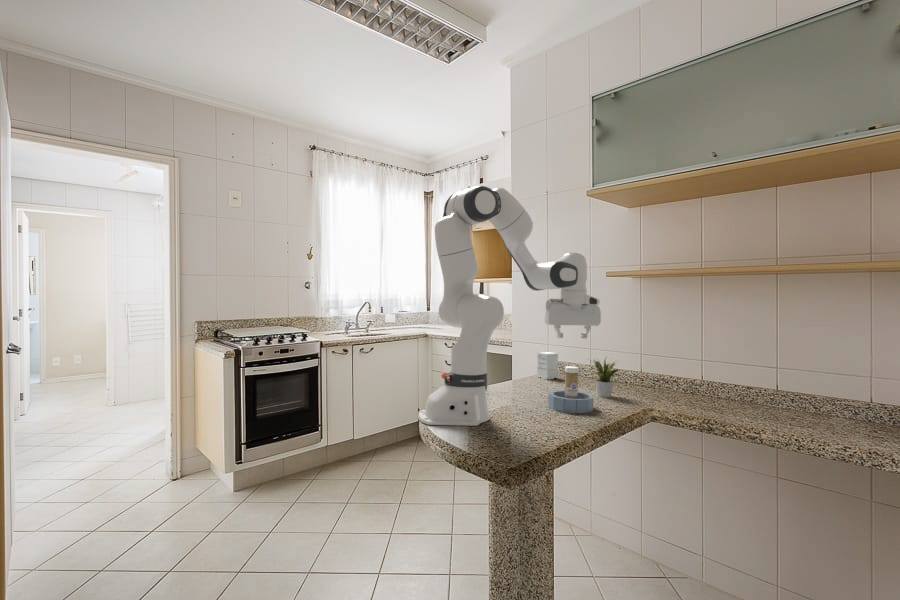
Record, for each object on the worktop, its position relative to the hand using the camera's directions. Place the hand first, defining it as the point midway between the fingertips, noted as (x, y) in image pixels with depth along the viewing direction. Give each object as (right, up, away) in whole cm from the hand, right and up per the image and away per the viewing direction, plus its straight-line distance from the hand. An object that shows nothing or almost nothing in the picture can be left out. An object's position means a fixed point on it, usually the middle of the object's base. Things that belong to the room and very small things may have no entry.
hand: (572, 338), depth 149 cm
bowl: (-1, -25, 0) cm, 25 cm away
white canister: (+5, -25, +59) cm, 65 cm away
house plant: (+18, -25, +20) cm, 37 cm away
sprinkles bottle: (0, -24, 0) cm, 24 cm away
